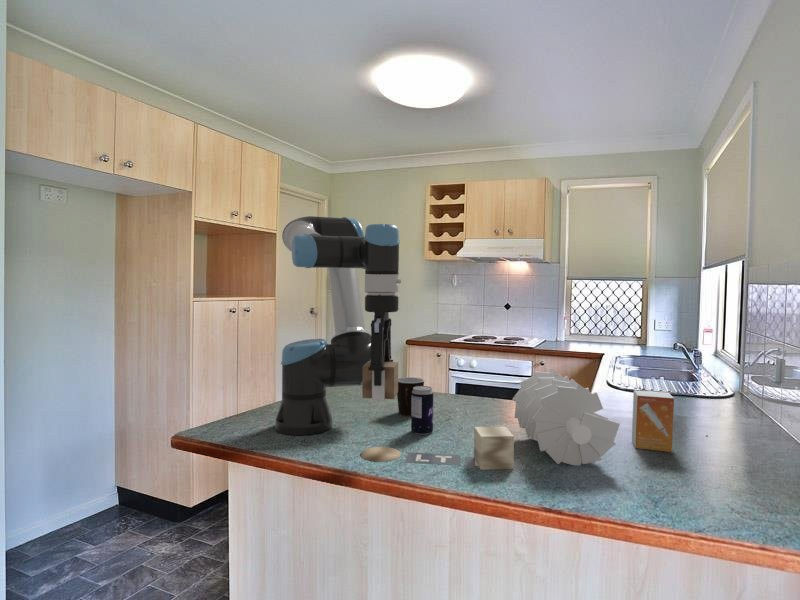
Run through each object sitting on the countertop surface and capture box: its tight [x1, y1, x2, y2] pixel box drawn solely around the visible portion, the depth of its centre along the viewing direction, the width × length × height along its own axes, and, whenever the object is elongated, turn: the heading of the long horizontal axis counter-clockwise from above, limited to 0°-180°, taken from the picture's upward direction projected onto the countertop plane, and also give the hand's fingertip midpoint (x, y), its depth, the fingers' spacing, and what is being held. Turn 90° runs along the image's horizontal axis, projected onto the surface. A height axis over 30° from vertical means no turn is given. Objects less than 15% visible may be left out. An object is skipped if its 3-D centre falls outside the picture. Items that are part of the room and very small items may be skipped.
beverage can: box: [410, 385, 434, 436], centre depth 131 cm, size 6×6×12 cm
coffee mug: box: [396, 376, 425, 417], centre depth 149 cm, size 12×9×10 cm
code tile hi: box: [464, 456, 524, 472], centre depth 109 cm, size 12×6×1 cm, turn 83°
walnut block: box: [361, 361, 399, 400], centre depth 113 cm, size 7×7×7 cm
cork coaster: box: [360, 446, 402, 463], centre depth 114 cm, size 9×9×1 cm
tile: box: [404, 451, 462, 467], centre depth 112 cm, size 12×6×1 cm, turn 83°
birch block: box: [473, 426, 515, 471], centre depth 109 cm, size 7×7×7 cm
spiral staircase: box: [512, 369, 620, 466], centre depth 118 cm, size 18×18×25 cm
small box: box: [631, 389, 675, 453], centre depth 122 cm, size 8×6×13 cm
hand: (381, 395), depth 114 cm, fingers closed on walnut block, 7 cm apart
